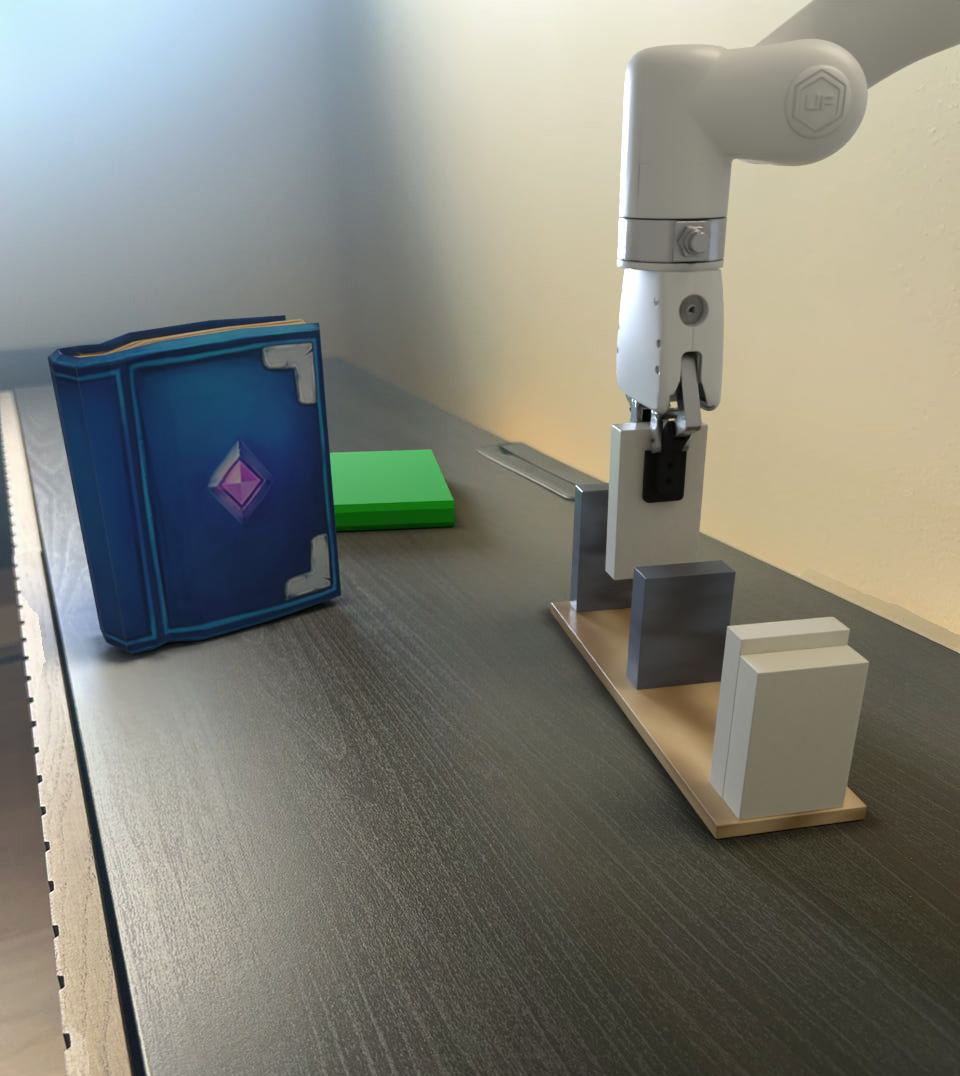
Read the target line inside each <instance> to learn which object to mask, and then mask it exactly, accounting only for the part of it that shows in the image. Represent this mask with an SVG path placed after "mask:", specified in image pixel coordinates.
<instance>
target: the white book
mask: <svg viewBox="0 0 960 1076" xmlns="http://www.w3.org/2000/svg"><path fill="white" fill-rule="evenodd" d="M673 420H674V419H669V421H673ZM667 422H668V421H663V428H664V426H665V425H666V423H667ZM650 428H651V422H640V423H630V422H627V423H613V424H611V429H610V449H609V450H610V451H609V452H610V453H609V473H608V474H609V476H608V483H609V497H608V521H607V544H606V568H605V571H606V572H607V573H608V574H609V575H610V576H611V577H612V578H613V579H614V580H622V579H633V576H634V567H641V566H654V565H667V564H680V563H693V562H698V554H699V543H700V530H701V519H702V518H701V516H702V506H703V505H702V504H703V492H704V490H703V489H704V479H705V470H706V469H705V468H706V457H707V444H708V443H707V442H708V432H709V431H708V429H709V425H708V424H707V423H705V422H703V421H702V426H701V430H700V431H698V432H696V433H694V434H692V435H691V436H690V447H689V450H688V451H687V458H686V472H685V485H684V497H683V498H682V499H681V500H679V501H669V502H656V503H647V502H645V501H644V500H643V498H642V491H643V473H644V455H645V450H650Z"/></svg>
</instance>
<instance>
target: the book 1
mask: <svg viewBox="0 0 960 1076" xmlns="http://www.w3.org/2000/svg"><path fill="white" fill-rule="evenodd" d="M320 328H321V327H320V322H310V323H307V322H306V321H304V320H303V319H302V318H297V319H288V320H287V317H286V314H282V315H267V316H253V317H252V316H251V317H239V318H238V317H237V318H222V319H209V320H202V321H195V322H188V323H183V324H177V325H176V324H175V325H169V326H162V327H157V328H150V329H143V330H137V331H131V332H127V333H124V334H122V335H118V336H116V337H114V338H112V339H109V340H105V341H104V342H101V343H94V344H81V345H74V346H73V345H72V346H67V347H61V348H57V349H55V350H54V351H53V352H52V353H50V355H48V356H47V363H48V367H49V372H50V377H51V382H52V383H51V384H52V388H53V392H54V397H55V403H56V408H57V414H58V419H59V424H60V429H61V434H62V439H63V445H64V449H65V454H66V455H65V456H66V461H67V466H68V470H69V476H70V480H71V486H72V491H73V497H74V501H75V507H76V511H77V517H78V523H79V527H80V532H81V537H82V543H83V548H84V553H85V556H86V557H85V559H86V563H87V569H88V574H89V578H90V579H89V580H90V584H91V588H92V589H91V590H92V594H93V599H94V604H95V609H96V615H97V620H98V626H99V629H100V632H101V634H102V637H103V639H104V642H105V643H106V644H108V645H111V646H112V647H114V648H116V649H120V650H122V651H124V652H126V653H129V654H132V655H136V654H140V653H144V652H147V651H148V652H149V651H151V650H155V649H158V648H159V647H161V646H164V645H165V644H167V643H172V642H173V643H174V642H175V643H177V642H194V641H195V642H196V641H197V642H198V641H204V640H205V641H206V640H208V639H212V638H216V637H219V636H222V635H225V634H229V633H233V632H236V631H240V630H243V629H247V628H250V627H254V626H259V625H262V624H265V623H268V622H271V621H275V620H278V619H281V618H283V617H286V616H289V615H291V614H294V613H297V612H299V611H300V612H301V611H303V610H306V609H309V608H311V607H313V606H317V605H319V604H322V603H325V602H327V601H330V600H333V599H335V598H338V597H341V596H342V587H341V576H340V574H341V573H340V563H339V562H340V561H339V549H338V539H337V531H336V524H335V511H334V499H333V487H332V474H331V462H330V453H331V452H330V450H331V449H330V439H329V427H328V426H329V425H328V414H327V412H328V411H327V401H326V389H325V378H324V377H325V376H324V363H323V352H322V351H323V350H322V339H321V329H320Z"/></svg>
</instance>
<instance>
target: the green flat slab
mask: <svg viewBox="0 0 960 1076" xmlns="http://www.w3.org/2000/svg"><path fill="white" fill-rule="evenodd" d="M330 462H331V474H332V487H333V499H334V511H335V524H336V532H350V531H351V532H355V531H375V530H378V531H379V530H396V529H397V530H398V529H399V530H401V529H424V528H445V527H446V528H447V527H455V522H456V521H455V518H456V517H455V516H456V515H455V500H454V496H453V495H452V493H451V490H450V488H449V486H448V484H447V482H446V479H445V477H444V475H443V472H442V470H441V467H440V466H439V463H438V462H437V459H436V457H435V455H434V452H433V449H431V448H430V449H408V450H407V449H400V450H375V451H374V450H372V451H371V450H370V451H368V450H367V451H343V452H342V451H341V452H340V451H339V452H330Z"/></svg>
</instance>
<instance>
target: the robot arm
mask: <svg viewBox="0 0 960 1076" xmlns="http://www.w3.org/2000/svg"><path fill="white" fill-rule="evenodd" d="M959 45H960V0H812V1H810V2H809V3H808V4H806V5H804V7H802V8H801V9H800V10H798V11H796V12H795V13H794V14H793V15H792V16H791V17H789V18H788V19H786V20H785V21H784V22H783V23H782V24H780V25H779V26H778V27H776V28H775V29H774V30H773V31H771V32H770V33H769V34H767V35H766V36H765V37H763V38H762V39H761V40H759V41H758V42H757V43H756V44H755V45H753V46H748V47H747V46H746V47H737V48H726V47H723V46H720V45H713V44H701V43H699V44H698V43H696V44H695V43H694V44H693V43H691V44H690V43H688V44H687V43H685V44H683V43H682V44H665V45H655V46H651V47H646V48H644V49H641V50H639V51H637V52H636V53H635V54H633V56H632V57H631V58H630V59H629V61H628V64H627V66H626V69H625V75H624V87H623V111H622V134H621V135H622V137H621V138H622V139H621V159H620V161H621V162H620V182H619V183H620V184H619V205H618V215H619V217H618V229H617V231H618V233H617V251H616V252H617V254H616V255H617V256H616V267H617V268H621V269H624V272H623V279H622V287H621V295H620V304H619V314H618V315H619V317H618V324H617V327H618V328H617V339H616V340H617V341H616V361H615V362H616V364H615V365H616V366H615V367H616V368H615V369H616V371H615V372H616V383H617V386H618V389H619V390H620V391H621V392H622V393H623V394H624V395H625V398H626V401H627V402H628V404H629V412H630V419H629V423H640V422H651V428H650V450H645V455H644V473H643V491H642V498H643V500H644V501H645V502H647V503H656V502H669V501H679V500H681V499H682V498H683V497H684V485H685V472H686V458H687V451H688V450H689V447H690V436H691V435H692V434H694V433H696V432H698V431H700V430H701V426H702V422H703V420H702V411H701V410H703V411H706V412H713V411H715V410H717V408H718V407H719V405H720V404H721V399H722V387H723V386H722V385H723V367H724V339H725V337H724V336H725V334H724V333H725V309H724V306H725V305H724V304H725V303H724V288H723V277H722V268H724V262H725V261H724V260H725V259H724V258H725V248H726V237H727V225H728V211H729V199H730V188H731V187H730V186H731V175H732V165H733V161H734V160H738V161H741V162H743V163H747V164H752V165H770V166H771V165H772V166H778V167H801V166H808V165H812V164H815V163H818V162H821V161H823V160H825V159H827V158H829V157H831V156H833V155H834V154H836V153H837V152H839V151H840V150H842V149H843V148H844V147H845V146H846V145H847V143H848V142H850V141H851V139H852V138H853V137H854V135H855V134H856V132H857V131H858V129H859V128H860V126H861V124H862V122H863V121H864V117H865V114H866V110H867V105H868V98H869V93H868V90H869V89H871V88H872V87H875V85H877V84H879V83H881V82H882V81H884V80H886V79H887V78H888V77H890V76H892V75H894V74H896V73H897V72H899V71H901V70H903V69H905V68H907V67H909V66H911V65H912V64H915V63H917V62H919V61H922V60H923V59H926V58H928V57H931V56H933V55H935V54H938V53H941V52H944V51H946V50H949V49H951V48H954V47H957V46H959ZM675 402H676V405H677V406H676V407H672V405H671V403H675ZM670 420H673V421H670ZM663 421H668V422H667V423H666V425H665V426H664V428H663Z"/></svg>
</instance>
